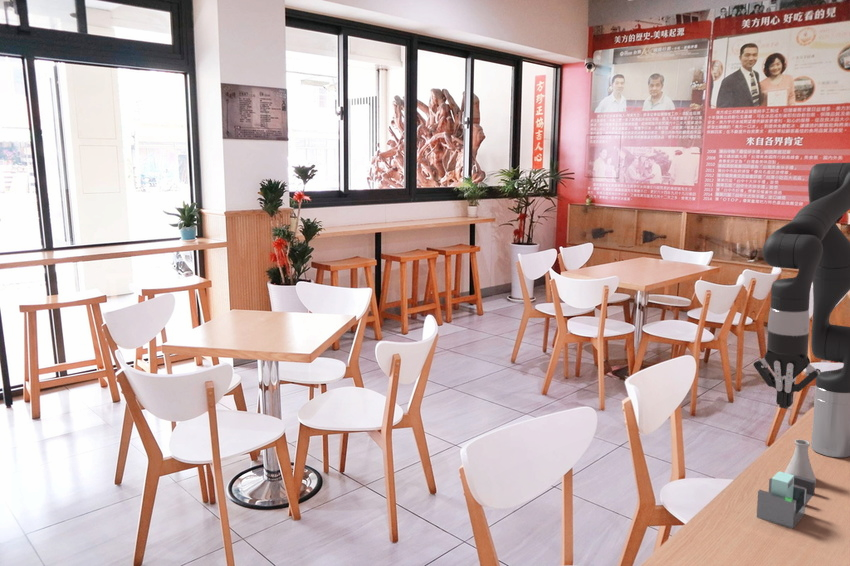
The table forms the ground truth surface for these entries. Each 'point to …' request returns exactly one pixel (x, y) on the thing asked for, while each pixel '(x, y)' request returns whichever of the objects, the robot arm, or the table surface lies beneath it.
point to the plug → (783, 484)
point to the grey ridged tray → (807, 484)
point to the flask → (801, 461)
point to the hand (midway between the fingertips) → (784, 407)
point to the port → (781, 506)
